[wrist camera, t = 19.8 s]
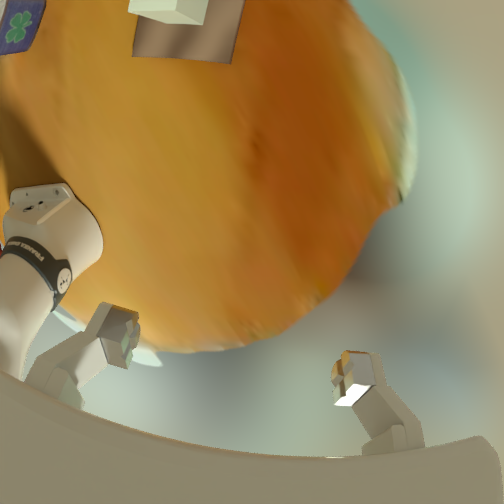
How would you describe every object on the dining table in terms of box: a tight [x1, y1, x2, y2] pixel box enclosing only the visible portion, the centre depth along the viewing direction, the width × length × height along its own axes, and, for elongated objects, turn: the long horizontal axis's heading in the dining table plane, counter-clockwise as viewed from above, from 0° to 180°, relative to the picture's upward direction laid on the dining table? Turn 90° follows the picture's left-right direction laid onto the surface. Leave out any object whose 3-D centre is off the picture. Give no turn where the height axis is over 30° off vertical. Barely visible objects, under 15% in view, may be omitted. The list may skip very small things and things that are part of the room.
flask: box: [0, 0, 46, 56], centre depth 19 cm, size 9×3×11 cm, turn 151°
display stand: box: [132, 0, 245, 64], centre depth 23 cm, size 12×11×6 cm
